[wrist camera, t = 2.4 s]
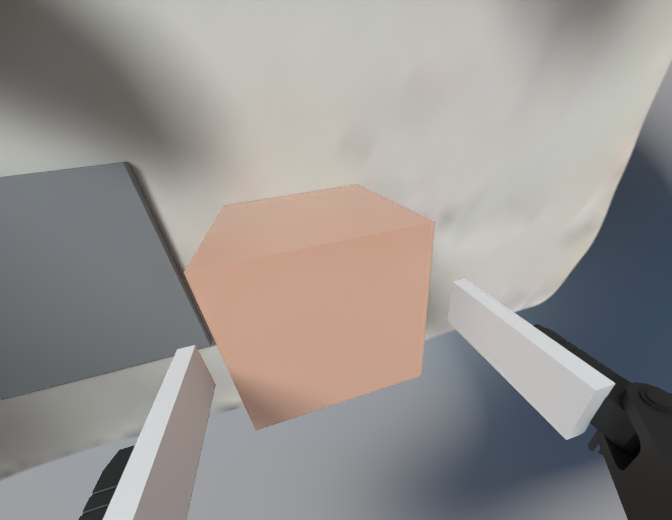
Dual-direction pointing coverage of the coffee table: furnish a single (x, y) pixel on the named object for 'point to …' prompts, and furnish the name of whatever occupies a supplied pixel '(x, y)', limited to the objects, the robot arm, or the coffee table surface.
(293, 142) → the coffee table surface
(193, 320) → the mat
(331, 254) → the salmon peach cube
